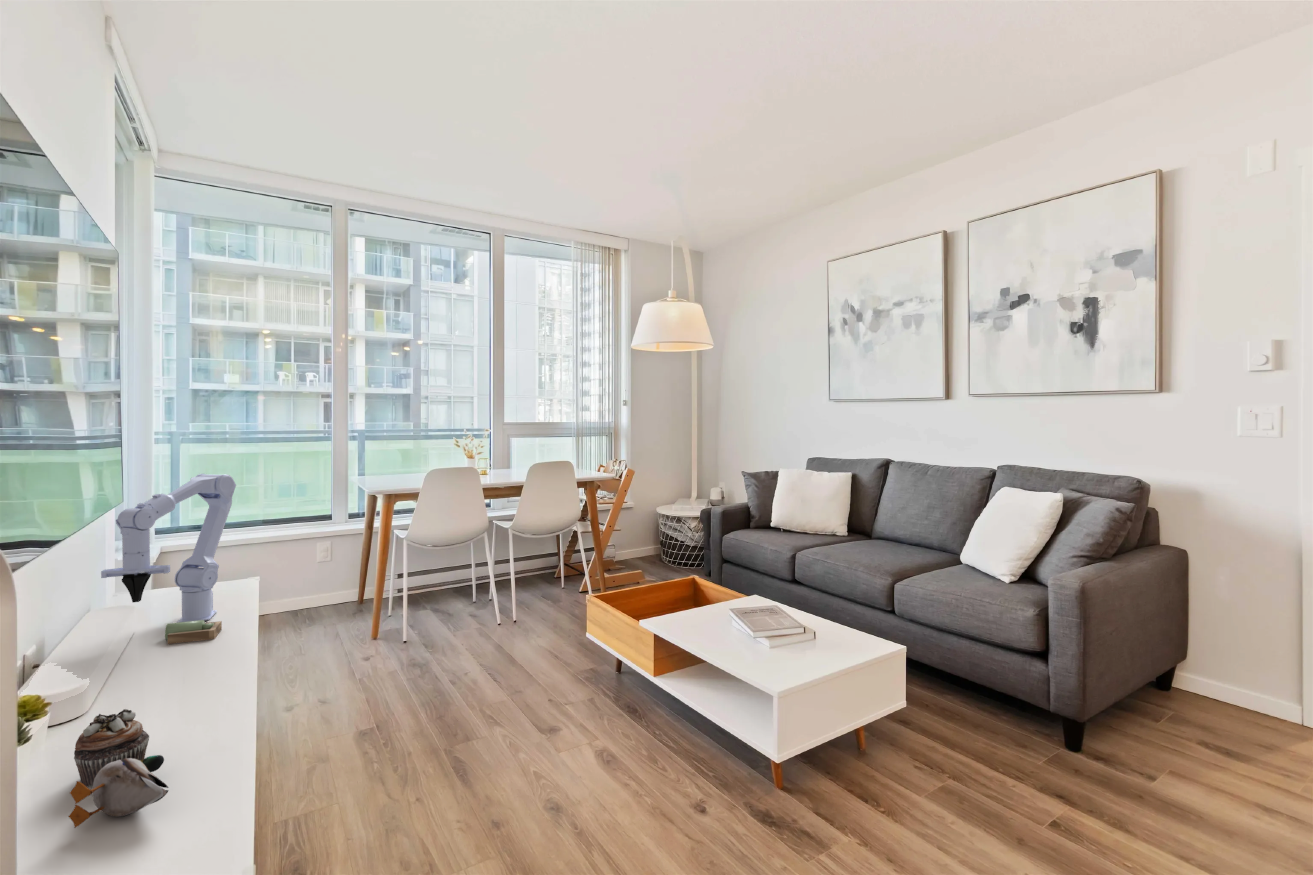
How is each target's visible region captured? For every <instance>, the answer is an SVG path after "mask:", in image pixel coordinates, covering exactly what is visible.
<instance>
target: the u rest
mask: <svg viewBox="0 0 1313 875" xmlns="http://www.w3.org/2000/svg"><path fill="white" fill-rule="evenodd" d="M209 623H214V625H213V626H212V628H211V629H207V630H198V631H189V632H179V633H170V634H168V640H167V645H173V644H181V643H191V642H199V641H200V642H201V641H206V640H207V641H208V640H209V641H210V640H215V639H216V637H217V636H218V635H219V634H220V633H221V631H222V628H223V626H222V625H223V624H222V620H221V621H209V622H205V624H209Z"/></svg>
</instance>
